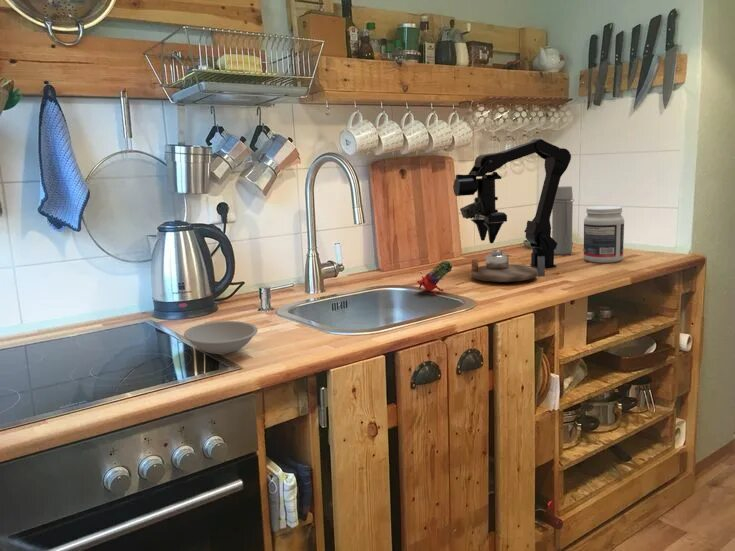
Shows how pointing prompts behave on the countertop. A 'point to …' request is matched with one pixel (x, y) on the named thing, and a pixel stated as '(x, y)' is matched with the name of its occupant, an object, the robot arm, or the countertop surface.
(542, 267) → the post
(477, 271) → the turntable
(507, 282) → the turntable base
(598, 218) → the supplement tub
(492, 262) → the aluminium cover
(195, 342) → the dish
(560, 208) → the water bottle
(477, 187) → the robot arm
